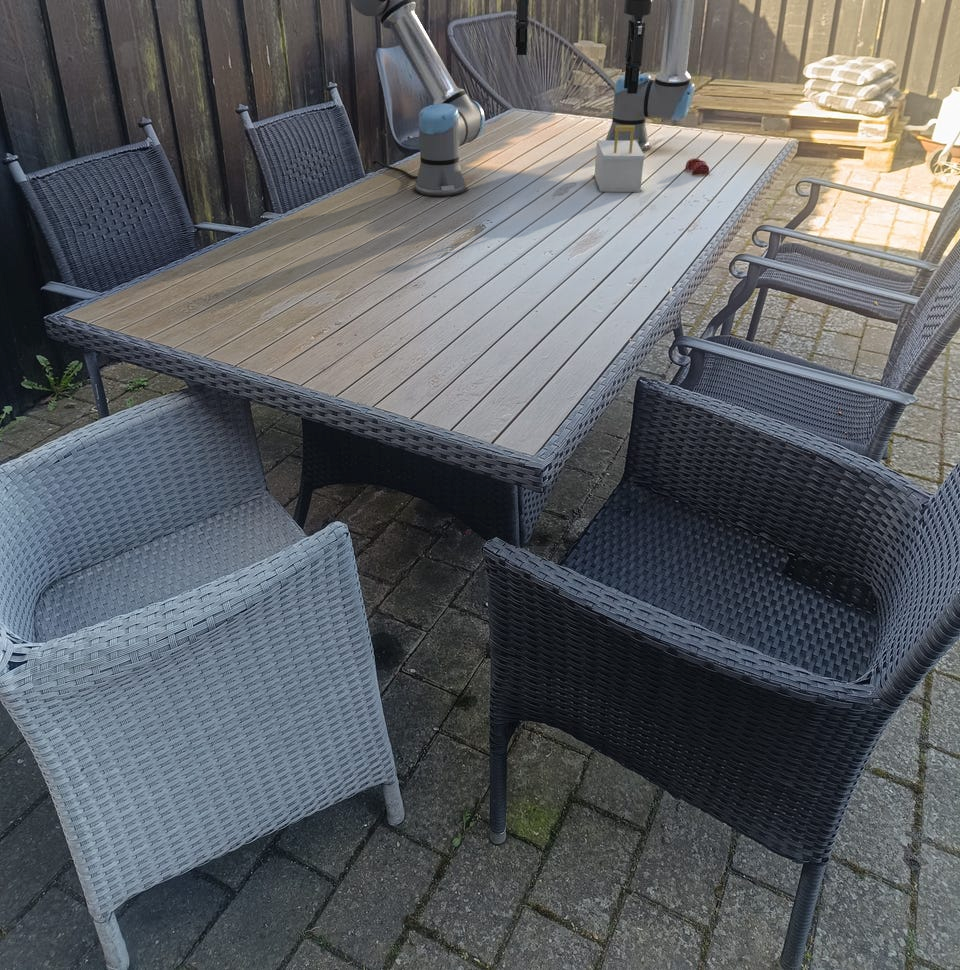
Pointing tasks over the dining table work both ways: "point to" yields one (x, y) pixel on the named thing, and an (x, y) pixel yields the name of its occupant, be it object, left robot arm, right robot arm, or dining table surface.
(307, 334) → the dining table surface
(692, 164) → the dark red lumpy piece
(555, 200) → the dining table surface
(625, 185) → the chest
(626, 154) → the lid
